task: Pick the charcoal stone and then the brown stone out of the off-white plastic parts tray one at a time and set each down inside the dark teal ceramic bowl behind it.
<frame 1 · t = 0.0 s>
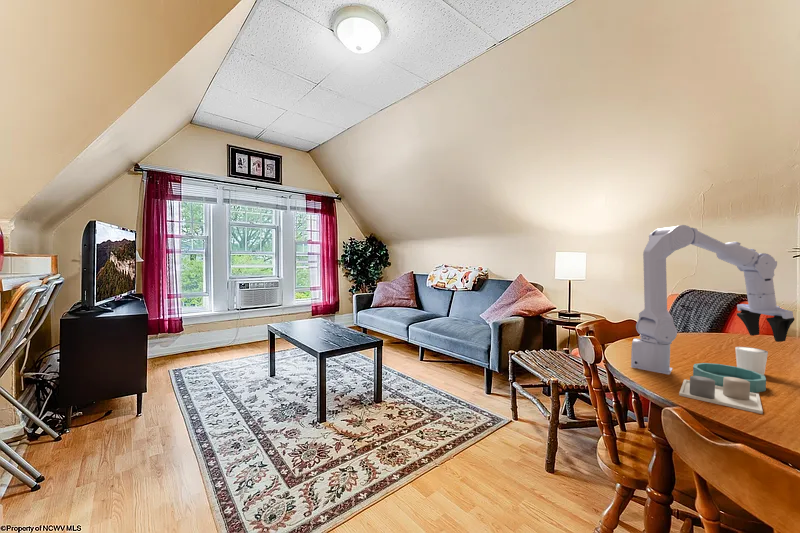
hand: (767, 338, 101), 11 cm above the table, tool pointing down, fingers open, 7 cm apart
brown stone: (735, 396, 82), point 1 cm above the table, touching parts tray
bowl: (727, 383, 92), on the table
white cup: (750, 373, 101), on the table
parts tray: (718, 398, 83), on the table
charcoal stone: (701, 395, 83), point 1 cm above the table, touching parts tray
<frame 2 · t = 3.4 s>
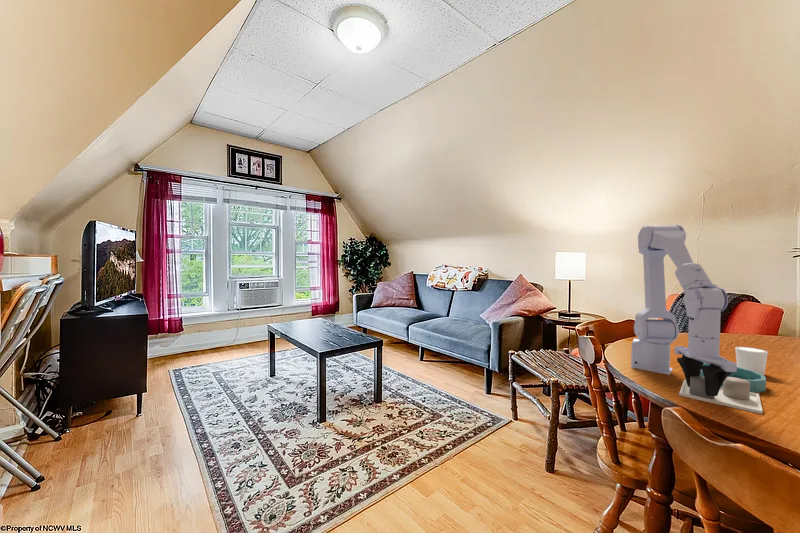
hand: (701, 391, 83), 2 cm above the table, tool pointing down, fingers closed on charcoal stone, 5 cm apart
charcoal stone: (701, 395, 83), point 1 cm above the table, touching gripper, parts tray
everything else where it was.
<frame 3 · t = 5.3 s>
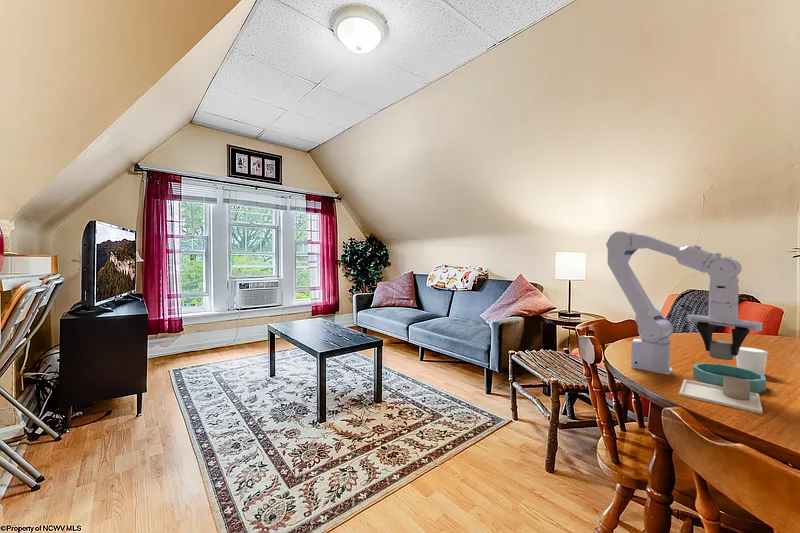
hand: (721, 352, 91), 9 cm above the table, tool pointing down, fingers closed on charcoal stone, 5 cm apart
charcoal stone: (720, 357, 90), point 8 cm above the table, touching gripper
everything else where it was.
when the fingers open (4 cm above the table, at t = 7.2 s): charcoal stone drops 2 cm, resting on bowl.
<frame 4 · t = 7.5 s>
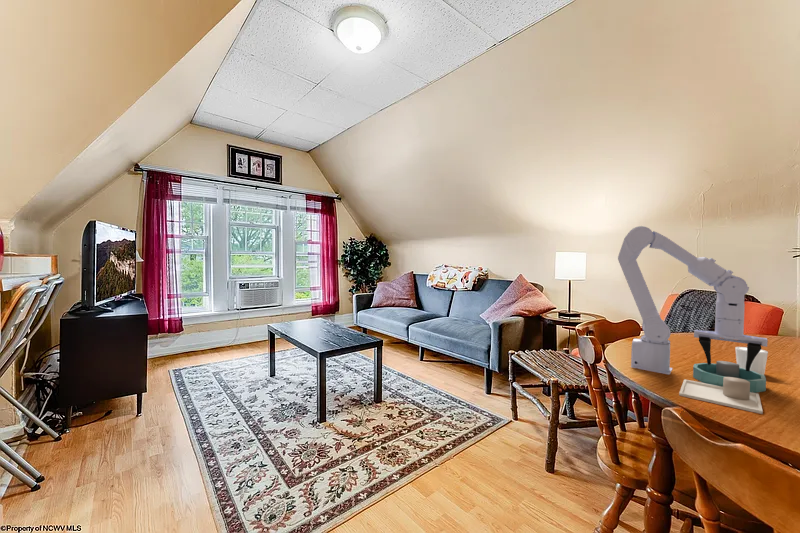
hand: (727, 367, 94), 4 cm above the table, tool pointing down, fingers open, 7 cm apart
charcoal stone: (727, 377, 94), point 1 cm above the table, touching bowl
everything else where it was.
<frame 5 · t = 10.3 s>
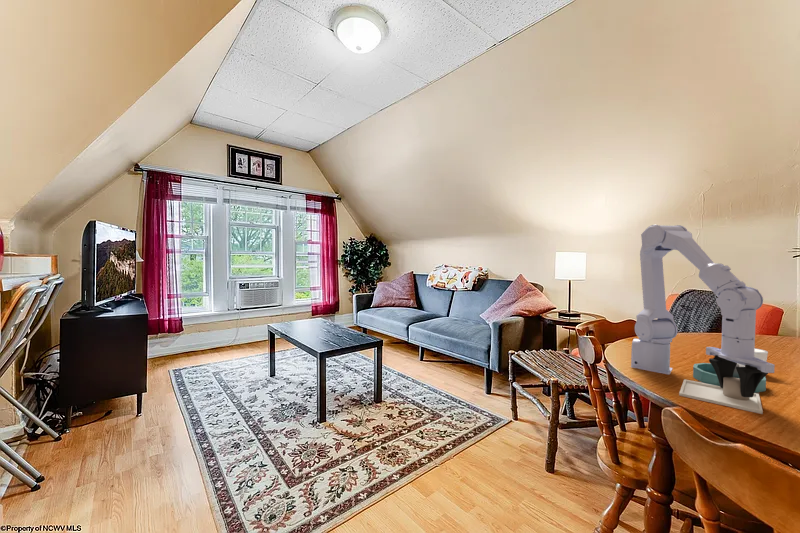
hand: (736, 392, 82), 2 cm above the table, tool pointing down, fingers closed on brown stone, 5 cm apart
brown stone: (735, 396, 82), point 1 cm above the table, touching gripper, parts tray
everything else where it was.
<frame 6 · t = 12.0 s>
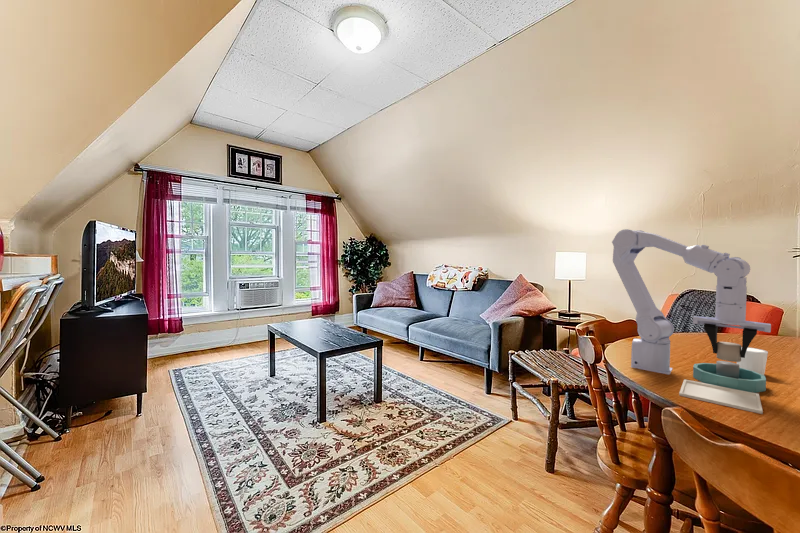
hand: (728, 354, 89), 9 cm above the table, tool pointing down, fingers closed on brown stone, 5 cm apart
brown stone: (728, 359, 89), point 8 cm above the table, touching gripper
everything else where it was.
when the fingers open (4 cm above the table, at t = 13.5 s): brown stone drops 2 cm, resting on bowl.
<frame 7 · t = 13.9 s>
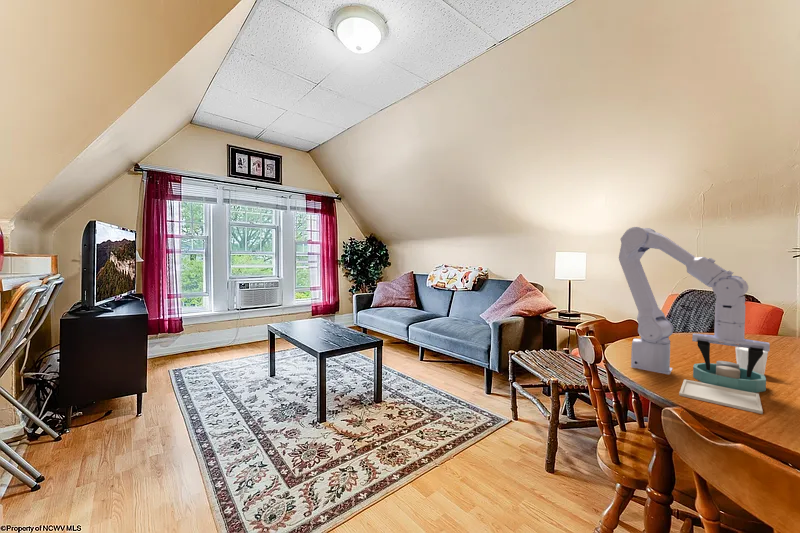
hand: (727, 372, 90), 4 cm above the table, tool pointing down, fingers open, 7 cm apart
brown stone: (727, 383, 90), point 1 cm above the table, touching bowl
everything else where it was.
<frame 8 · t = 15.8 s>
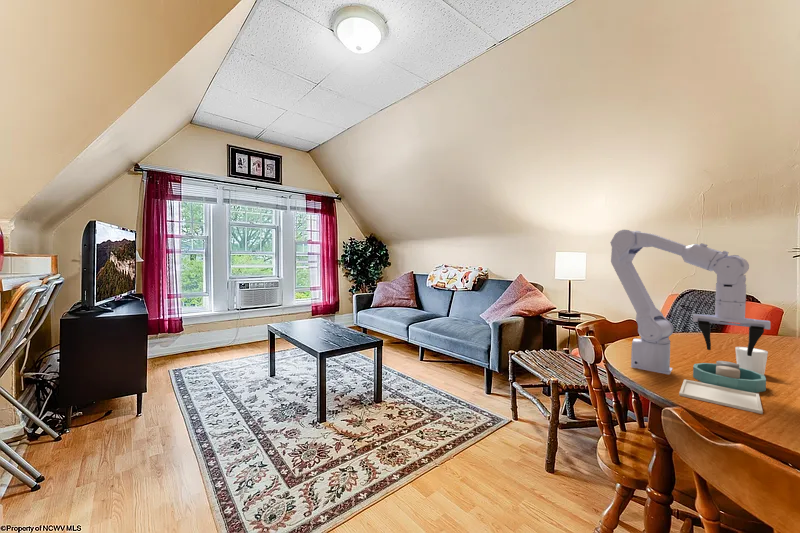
hand: (728, 352, 89), 9 cm above the table, tool pointing down, fingers open, 7 cm apart
nothing on the table moved.
at the end: charcoal stone inside the target area on the bowl (2.8 cm from its centre), point 1.0 cm above the bowl's base; brown stone inside the target area on the bowl (3.3 cm from its centre), point 1.0 cm above the bowl's base; the gripper is holding nothing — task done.
